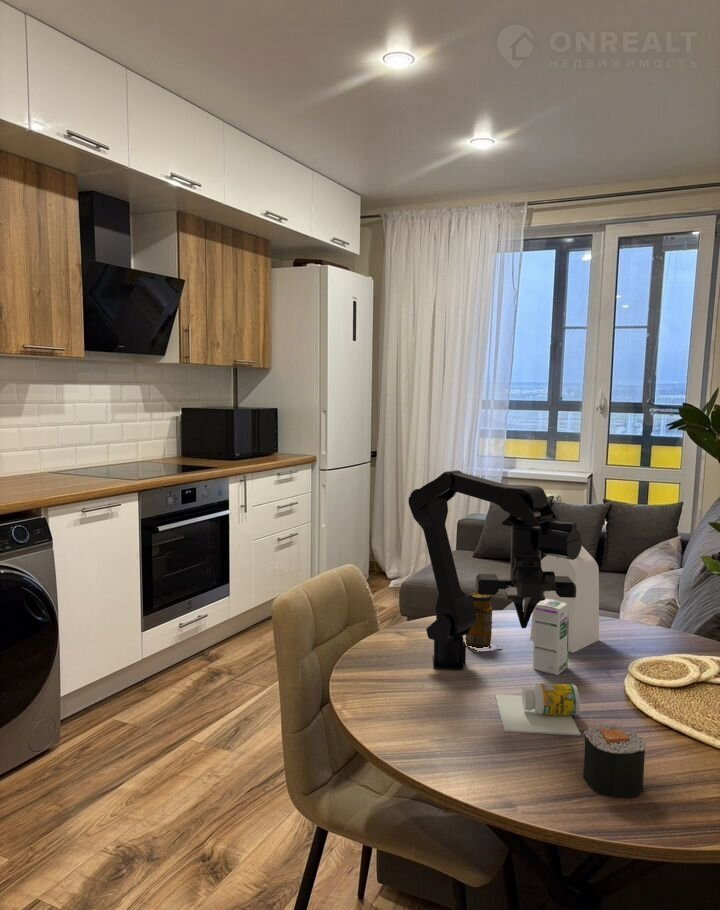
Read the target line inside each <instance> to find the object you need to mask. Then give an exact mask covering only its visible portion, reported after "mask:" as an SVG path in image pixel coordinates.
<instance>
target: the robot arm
mask: <svg viewBox="0 0 720 910" xmlns="http://www.w3.org/2000/svg"><path fill="white" fill-rule="evenodd" d="M457 493H459V494H462V495H465V496H469V497H472V498H476V499H478V500H482V501H486V502H488V503H492V504H494V505H497V506H498V507H500V509H501V510H502V511H503V512H505V513H507V514H508V515H509V516H508V517H506V518H505V519H504V520H503V521H502V522H501V525H502V526H506V527H511V538H510V539H511V542H510V543H511V544H510V569H509V570H510V573H509V575H510V576H509V579H505V578H504V579H500V578H498V575H496V573H494V574H493V573H477V575H476V577H475V589H476V592H478V594H481V595H490V596H495V595H496V594H497V593H498V592H500V590H503V592H504V594H505V596H506V599H508V600H512V603H513V605H514V607H515V610H516V615H517V617H518V621H519V624H520V627H521V629H526V628H527V627H528V623H529V621H530V620H531V618H532V614H533V610H534V608H535V606H536V605H537V604H538V603H539V602H540V601H544V600H545V599H546V598H545V596H544V593H545V591H556V594H557V595H558V596H559V597H566V598H574V597H576V585H575V584H574V583H573V581H572V580H571V579H570V578H569V577H568V576H555V574H554V572H552V571H542V568H541V560H542V556H541V555H543V554H544V555H546V556H547V555H550V556H555V557H560V558H566V559H571V560H574V559H576V558H577V557H578V555H579V553H580V551H581V546H583V539H582V537H581V534H580V531H579V530H578V529H577V526H578V524H577V522H572V521H571V522H570V521H567V522H566V521H559V518H558V516H557V514H556V513H555V511H554V509H553V508H552V506H551V505H550V503H549V501H548V497H547V493H545V489H543V488H542V487H540V486H537V485H530V484H529V485H526V484H505V483H501V482H498V481H494V480H491V479H487V478H483V477H480V476H476V475H472V474H468V473H464V472H462V471H461V470H458V469H456V470H450V471H448V470H447V471H444V472H442V473H441V474H440V475H439V476H438V477H436V478H435V479H434V480H431V481H429V482H428V483H427V484H425V485H422V486H421V487H420V488H416V489H413V490H412V492H411V493H410V495H409V496H408V500H407V501H408V507H409V509H410V512H411V515H412V517H413V519H414V520H415V522H416V523H417V524H418V525H419V526H420V528H421V529H422V531H423V534H424V539H425V543H426V547H427V551H428V555H429V560H430V565H431V568H432V571H433V576H434V580H435V581H434V582H435V584H436V589H437V600H436V603H435V619H436V620H434V621H433V622H432V623H431V624H430V625H429V626H427V627H426V634H427V638H428V639H430V640H432V641H433V655H432V666H433V669H441V670H442V669H443V670H461V671H462V670H464V667H465V666H464V665H465V664H466V663H467V662H466V659H467V656H466V655H467V652H466V651H467V649H466V648H467V647H466V644H465V642H464V641H463V639H464V637H465V636H466V635H467V634H469V631H470V628H472V627H473V625H474V623H475V622H476V615H475V614H477V611H476V609H475V606H474V599H473V597H472V595H470V596H469V595H466V593H465V592H464V591H463V590H462V588H461V586H460V581H459V576H458V572H457V569H456V564H455V560H454V556H453V552H452V548H451V543H450V539H449V535H448V531H447V528H446V523H447V518H448V514H449V506H448V502H449V501H450V500H451V499H453V498H454V497H455V495H456V494H457Z"/></svg>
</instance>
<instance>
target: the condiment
mask: <svg viewBox="0 0 720 910" xmlns="http://www.w3.org/2000/svg"><path fill="white" fill-rule="evenodd" d="M470 595H472V597H473V599H474V606H475V609H476V611H477V614H475V615H476V622H475V623H474V625H473V627H472V628H470V631H469V634H467V635H465V636H464V637H465V639H464V638H463V641H464V640H466V644H467V646H466V648H467V649H469V650H470V651H472V652H474V653H482V652H481V651H479V652H477V650H475V649H471V648H470V647H468V646H472V647H476V648H483V647H488V646H490V644H491V642H492V628H493V626H492V624H493V607H492V606H491V604H492V602H491V599H492V597H491V596H492V595H481V594H478V592H477V591H475V592H474V591H473V592H470V593H469V594H468V596H470ZM497 646H498V645H497ZM497 646H496V647H497Z"/></svg>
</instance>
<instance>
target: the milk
mask: <svg viewBox="0 0 720 910" xmlns="http://www.w3.org/2000/svg"><path fill="white" fill-rule="evenodd" d="M541 568H542V571H552V572H554V574H555V576H568V577H569V578H570V579H571V580H572V581H573V583H574V584H575V585H576V597H574V598H566V597H559V596H558V595H557V594H556V591H545V593H544V596H545V598H546V599H552V600H559V601H563V602H566V603H569V629H568V652H569V653H576V652H578V651H579V650H582V649H583V648H586V647H588V646H590V645H591V644H594V643H596V642H598V641H599V640H600V608H599V607H600V602H599V601H600V599H599V598H600V587H599V586H600V584H599V583H600V581H599V580H600V574H599V573H600V572H599V571H600V570H599V569H600V568H599V565H598V562H597V560H595V558H594V557H593V556H592V555H591V554H590V553H589V552H588V551H587V549H586V548H584V546H583V545H582V546H581V551H580V553H579V555H578V557H577V558H576V559H574V560H571V559H566V558H560V557H555V556H550V555H546V556H544V557H543V558H541ZM540 602H541V601H540ZM529 639H530V640H532V639H533V640H532V641H534V610H533V612H532V614H531V627H530V636H529Z"/></svg>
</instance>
